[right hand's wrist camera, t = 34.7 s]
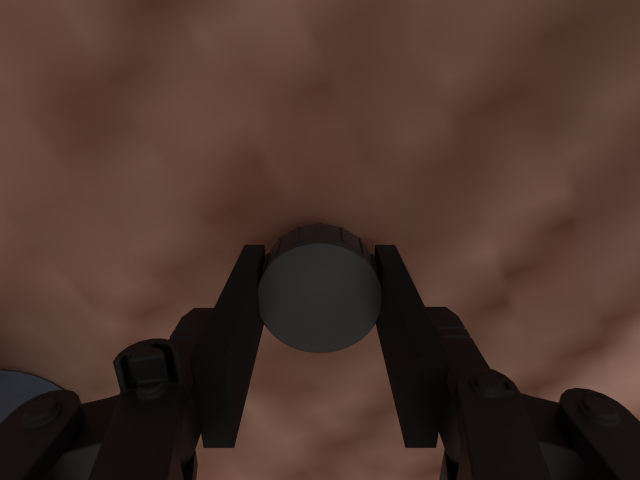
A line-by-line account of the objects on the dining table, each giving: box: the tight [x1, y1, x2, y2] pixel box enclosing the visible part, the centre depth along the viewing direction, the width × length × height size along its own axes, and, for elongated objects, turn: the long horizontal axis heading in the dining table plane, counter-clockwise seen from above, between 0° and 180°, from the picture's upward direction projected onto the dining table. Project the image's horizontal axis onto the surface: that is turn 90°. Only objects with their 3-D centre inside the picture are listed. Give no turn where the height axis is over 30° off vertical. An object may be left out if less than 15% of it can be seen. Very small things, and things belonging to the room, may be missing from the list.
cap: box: [258, 223, 382, 353], centre depth 14 cm, size 4×4×2 cm
